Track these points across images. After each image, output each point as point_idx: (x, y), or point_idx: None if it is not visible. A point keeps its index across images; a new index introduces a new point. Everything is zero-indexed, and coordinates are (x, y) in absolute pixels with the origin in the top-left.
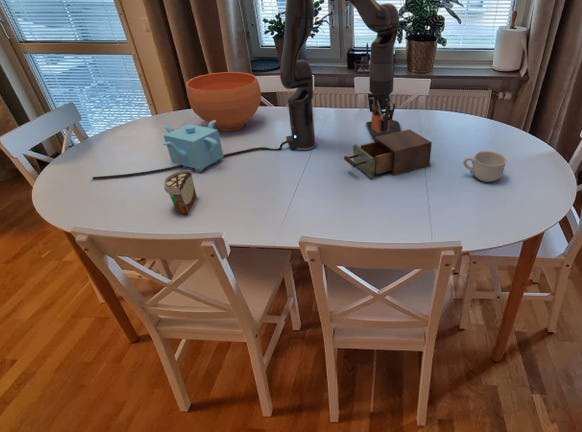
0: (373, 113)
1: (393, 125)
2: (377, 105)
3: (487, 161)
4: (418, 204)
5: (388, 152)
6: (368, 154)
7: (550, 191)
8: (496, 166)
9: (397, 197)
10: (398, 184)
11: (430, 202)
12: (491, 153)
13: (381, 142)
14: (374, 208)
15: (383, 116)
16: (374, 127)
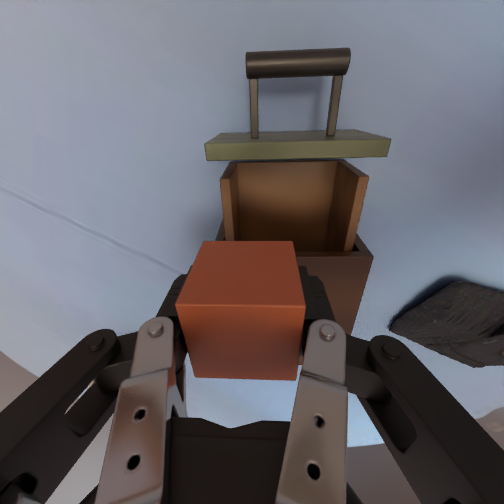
0: (319, 337)
1: (461, 351)
2: (239, 469)
3: None
4: (52, 190)
5: None
6: (251, 156)
7: None
8: (89, 386)
9: (96, 157)
10: (169, 199)
11: (60, 221)
12: None
13: (310, 256)
14: (31, 39)
15: (137, 361)
16: (250, 251)
